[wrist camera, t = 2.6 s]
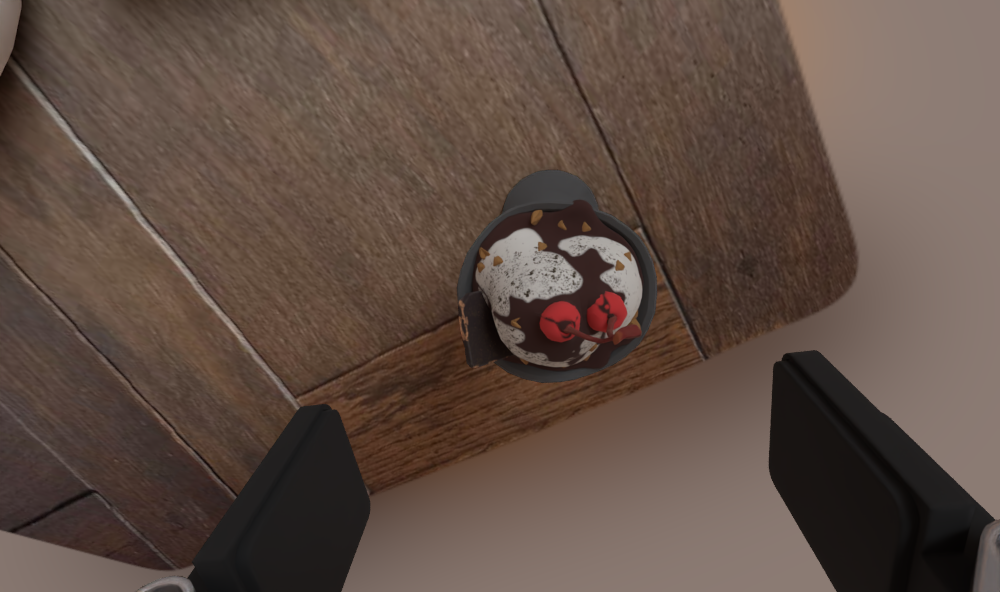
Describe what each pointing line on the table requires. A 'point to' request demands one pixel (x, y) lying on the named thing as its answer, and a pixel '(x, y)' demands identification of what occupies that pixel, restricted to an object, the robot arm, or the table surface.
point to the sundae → (554, 284)
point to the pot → (8, 28)
